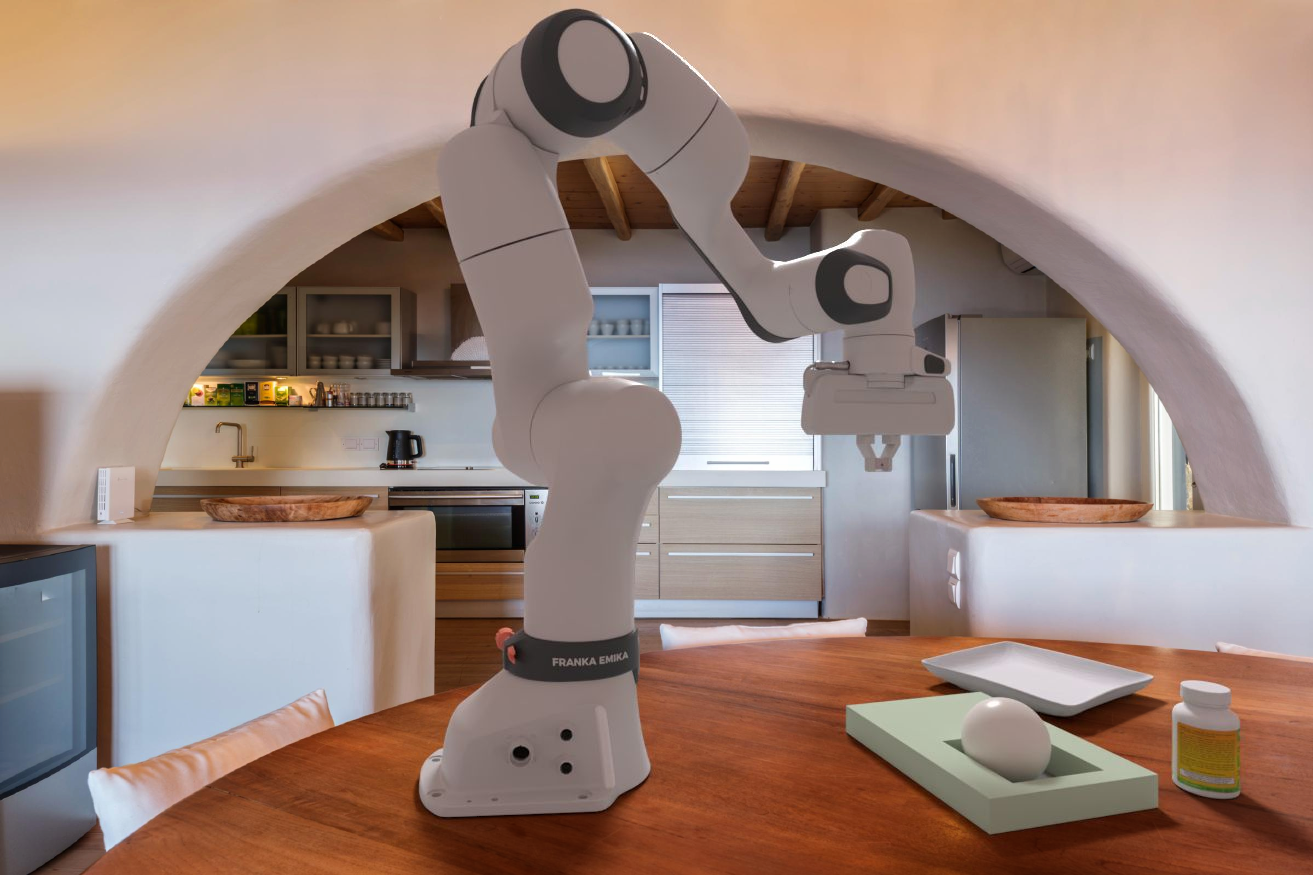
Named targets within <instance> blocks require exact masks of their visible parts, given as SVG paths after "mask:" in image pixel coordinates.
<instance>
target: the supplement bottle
mask: <svg viewBox="0 0 1313 875" xmlns="http://www.w3.org/2000/svg"><path fill="white" fill-rule="evenodd" d="M1179 689H1180V690H1179V695H1180V698H1181V700H1182V702H1178V703H1177V704H1175V705H1174V706H1173V708H1172V710H1171V711H1172V712H1171V778H1172V782H1173V783H1174V784H1175V785H1176V786H1178V788H1181V789H1183V790H1184V791H1187V792H1189V793H1192V794H1194V795H1198V796H1201V797H1205V798H1210V799H1217V800H1228V799H1234V798H1237V797H1239V795H1240V794H1241V721H1240V720H1241V719H1240V717H1238V715H1237V714H1236V713H1235V712H1234V711H1232V710H1231V709H1229V707H1231V706H1232V691H1231V689H1230V688H1229V687H1226V686H1225V685H1222V684H1218V683H1215V682H1210V681H1205V680H1196V679H1195V680H1190V679H1189V680H1183V681H1181V682H1180V688H1179Z"/></svg>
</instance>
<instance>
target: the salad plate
mask: <svg viewBox="0 0 1313 875" xmlns="http://www.w3.org/2000/svg"><path fill="white" fill-rule="evenodd" d="M920 662H921V664H922V666H923V667H924V668H925V670H927V671H929V672H930V673H931V674H933V675H934V676H936V677H937V678H940V679H941V680H943V681H946V682H948V683H949V684H953V685H955V686H957V687H958V688H960V689H963V690H966V691H968V692H970V693H974V692H982V693H984V694H987V695H989V696H991V697H993V698H995V697H1003V698H1010V699H1014V700H1017V701H1019V702H1021V703H1023V704H1025V705H1027V706H1028V707H1029V708H1031V709H1032V710H1033V711H1034V712H1036V713H1037V712H1038V713H1042V714H1045V715H1048V716H1049V715H1050V716H1055V717H1071V716H1075V715H1078V714H1080V713H1082V712H1084V711H1086V710H1088V709H1092V708H1094V707H1098V706H1100V705H1102V704H1104V703H1108V702H1110V701H1113V700H1115V699H1119V698H1122V697H1126V696H1129V695H1132V694H1134V693H1136V692H1139V691H1141V690H1143V689H1145V688H1146V687H1148V686H1149V685H1150V684H1151V682H1152V683H1153V681H1154V679H1155V677H1154V675H1152V674H1148V673H1145V672H1141V671H1140V672H1139V671H1136V670H1132V669H1128V668H1124V667H1120V666H1118V665H1117V666H1116V665H1113V664H1108V663H1105V662H1100V661H1097V660H1092V659H1089V658H1084V657H1081V656H1076V655H1072V654H1068V653H1064V652H1059V651H1056V650H1050V649H1047V648H1041V647H1037V646H1033V645H1027V644H1024V643H1019V642H1016V641H1009V640H1008V641H1007V640H1005V641H1004V640H1003V641H999V642H994V643H990V644H985V645H984V644H983V645H979V646H975V647H971V648H967V649H961V650H956V651H953V652H949V653H945V654H941V655H940V654H939V655H937V656H933V657H930V658H924V659H921V661H920Z"/></svg>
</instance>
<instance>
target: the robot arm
mask: <svg viewBox="0 0 1313 875" xmlns="http://www.w3.org/2000/svg"><path fill="white" fill-rule="evenodd" d="M470 113H471V114H470V123H469V124H470V125H469V127H468V128H465V129H464V130H461V131H460V132H458V133H457V134H455V135H454V136H452V138H450V139H449V140H448V141H447V142H446V143H445V144H444V146H443V147H442V149H441V150H440V152H439V154H438V156H437V160H436V175H437V182H438V188H439V194H440V198H441V199H440V200H441V204H442V210H443V213H444V218H445V221H446V227H447V230H448V233H449V237H450V241H451V244H452V247H453V250H454V252H455V256H456V259H457V262H458V263H459V268H460V271H461V275H462V276H463V279H464V281H465V284H466V288H467V290H468V293H469V296H470V300H471V302H472V304H473V307H474V308H473V309H474V310H475V313H476V316H477V319H478V322H479V325H480V327H481V331H482V333H483V339H484V342H485V344H486V345H485V346H486V350H487V353H488V359H489V365H490V371H491V373H490V374H491V380H492V381H491V382H492V387H493V388H492V389H493V394H494V396H493V397H494V404H495V416H494V417H495V418H494V420H493V423H492V427H491V443H492V448H493V451H494V454H495V455H496V457H497V459H498V461H499V462H500V463H501V465H502V467H504V468H505V469H506V470H507V471H509V472H510V473H512V474H514V476H516V477H518V478H519V479H521V480H523V481H526V483H529V484H531V485H535V486H538V487H543V488H547V489H548V492H547V496H546V502H545V506H544V511H543V513H542V518H541V522H540V524H539V527H538V530H537V532H536V535H535V536H534V538H533V539H532V540H531V541H530V542H529V544H528V545H527V547H526V550H525V553H524V555H523V627H522V628H520V629H519V630H517V631H516V632H514V631H513V629H511V628H509V627H503V628H500V629H498V632H497V633H496V634H495V643H496V646H497V647H498V649H500V650H501V651H502V666H503V668H502V670H500V671H499V672H498V673H497V674H495V675H494V676H493V677H491V679H489V680H488V681H486V682H485V683H484V684H482V685H481V687H479V688H478V689H477V690H475V691H474V692H472V694H470V695H469V696H467V697H466V698H465V699H464V700H462V701H461V702H460V703H459V704H458V705H457V707H456V708H455V709H454V711H453V713H452V715H451V718H450V720H449V722H448V725H447V728H446V733H445V736H444V741H443V747H442V748H439V749H437V750H435V751H434V752H433V753H431V754H430V755H429V756H428V757H427V758H426V760H425V761H424V762H423V764H422V766H421V769H420V772H419V773H420V774H419V783H418V794H419V798H420V801H421V802H422V804H423V806H424V807H425V808H426V809H427V810H428V811H430V812H431V813H433V814H434V815H436V816H438V817H443V818H444V817H445V818H452V817H477V816H478V817H479V816H481V817H482V816H485V817H486V816H504V815H505V816H507V815H510V816H511V815H533V814H534V815H535V814H539V815H540V814H561V813H563V814H564V813H585V812H586V813H588V812H589V813H591V812H599V811H600V812H602V811H603V810H606V809H607V808H610V806H612V804H614V802H615V801H616V799H617V798H618V797H619V796H620V795H622V794H624V793H626V792H627V791H629V790H632V789H633V788H635V787H636V786H638V785H639V784H641V783H642V782H643V781H644V780H645V779H647V777H648V776H649V774H650V771H651V762H650V759H649V756H648V752H647V748H646V744H645V740H644V736H643V732H642V724H641V719H640V712H639V711H640V710H639V704H638V692H637V684H638V683H639V674H640V671H641V670H640V669H641V668H640V666H641V662H640V660H641V657H640V656H641V655H640V654H641V647H640V646H641V644H640V637H639V628H637V627H636V626H635V594H636V592H635V587H636V585H635V583H636V582H635V580H636V559H637V550H638V543H639V538H640V534H641V530H642V526H643V522H644V519H645V515H646V512H647V510H648V507H649V505H650V502H651V499H652V497H653V495H654V493H655V491H656V489H657V488H658V487H659V485H660V484H661V483H662V481H663V480H664V479H665V478H667V476H668V475H669V474H670V473H671V471H672V470H673V469H674V467H675V466H676V463H677V461H678V460H679V455H680V453H681V449H682V440H683V431H682V424H681V419H680V417H679V413H678V412H677V409H676V407H675V405H674V404H673V402H672V401H671V400H670V399H669V397H668V396H667V395H666V394H665V393H663V391H660V389H658V388H655V387H653V386H652V385H648V384H645V383H642V382H638V381H635V380H631V379H630V380H629V379H627V378H626V379H625V378H621V377H604V378H602V377H601V378H596V379H595V378H594V379H592V377H591V374H590V370H589V363H588V360H589V359H588V349H587V348H588V346H587V341H588V332H589V328H590V324H591V322H592V321H593V317H594V313H595V304H594V302H595V301H594V299H593V295H592V292H591V290H590V286H589V283H588V280H587V278H586V274H585V270H584V268H583V264H582V261H581V259H580V258H581V257H580V255H579V252H578V249H577V246H576V243H575V239H574V237H573V236H574V235H573V234H572V230H571V229H570V228H571V227H570V224H569V222H568V219H567V217H566V213H565V210H564V209H563V206H562V203H561V200H560V198H559V190H558V184H557V183H558V182H557V172H558V171H557V169H558V164H559V162H560V161H562V160H564V159H568V158H571V157H573V156H576V155H578V154H580V153H582V151H584V150H585V149H587V148H589V146H591V145H592V144H593V143H595V141H597V140H598V139H599V138H600V139H603V140H606V141H608V142H610V143H612V144H614V145H616V146H617V147H618V148H620V149H621V150H622V151H624V152H625V154H626V155H627V156H628V158H630V160H631V161H632V162H633V163H634V164H635V165H636V166H637V168H639V169H640V171H641V172H643V174H644V175H645V176H647V177H648V179H649V180H650V181H651V182H652V183H653V185H655V187H656V188H657V189H658V190H659V192H660V193H661V194H662V195H663V197H664V198H665V200H666V201H667V203H668V208H669V212H670V215H671V217H672V219H673V221H674V223H675V225H676V227H677V228H678V229H679V231H680V232H681V234H683V236H684V238H685V239H686V240H687V241H688V243H689V244H690V246H692V248H693V249H694V251H696V253H697V254H698V255H699V256H700V257H701V260H703V261H704V262H705V264H706V265H707V266H708V268H709V269H710V271H712V272H713V274H714V275H715V276H716V277H717V279H718V280H719V281H720V283H722V285H723V286H724V287H725V288H726V290H727V292H728V293H729V294H730V295H731V297H732V299H733V300H734V302H735V304H736V306H737V308H738V310H739V312H740V315H741V316H742V319H743V320H744V322H745V324H746V325H747V327H748V328H749V329H750V330H751V332H752V333H753V334H754V335H755V336H757V337H758V338H759V339H761V340H763V341H764V342H768V343H771V344H782V343H786V342H789V341H793V340H796V339H799V338H802V337H808V336H814V335H819V334H826V333H828V332H836V331H841V330H843V333H842V335H843V336H842V360H839V361H838V360H834V361H826V360H815V361H814V362H813V363H811V364H809V365H808V366H807V367H806V368H805V369H804V372H803V375H802V388H803V391H804V392H803V397H802V398H803V399H802V405H801V416H800V417H801V418H800V427H801V429H802V430H803V432H804V434H806V435H807V436H855V437H856V438H855V439H856V440H855V442H856V443H855V445H856V446H857V448H858V450H859V451H860V454H861V456H862V457H863V458H864V471H865V472H866V473H881V472H882V473H890V472H892V471H893V458H894V457H895V455H896V454H897V452H898V449H899V448H900V446H901V442H902V441H901V438H902V437H901V436H949V435H950V434H951V432H952V431H953V430H954V428H955V424H956V407H955V406H956V405H955V402H956V401H955V393H954V389H953V386H952V382H950V380H948V378H945V377H948V376H950V374H951V373H952V362H951V361H950V360H949V359H948V358H945V357H944V356H941V355H939V354H935V353H933V352H931V351H929V350H926V349H924V348H922V347H919V346H917V345H916V333H915V330H914V326H913V314H914V313H913V312H914V308H915V305H916V278H915V277H916V276H915V265H914V259H913V254H912V250H911V247H910V244H909V242H908V240H907V238H906V236H905V237H904V235H902V234H900V233H898V232H895V231H893V230H889V229H879V228H878V229H876V228H870V229H863V230H859V231H856V232H855V233H853V234H852V235H851V236H850V237H849V239H848V240H847V241H845V242H843V243H840V244H839V245H837V246H834V247H830V248H828V249H825V250H821V251H819V252H813V253H811V254H808V255H806V256H803V257H799V258H795V259H792V260H788V261H777V260H773V259H770V258H768V257H766V256H764V255H763V254H762V252H760V250H759V248H758V247H757V246H756V245H755V243H754V242H753V241H752V240H751V238H750V237H749V235H748V234H747V233H746V232H745V229H744V228H742V226H741V224H740V223H739V222H738V221H737V219H736V218H735V216H734V214H733V212H732V209H731V201H733V199H734V198H735V195H737V193H738V191H739V190H740V188H741V186H742V185H743V183H744V180H745V178H746V176H747V173H748V171H749V167H750V163H751V162H750V161H751V160H750V159H751V141H750V136H749V134H748V132H747V130H746V128H745V126H744V125H743V123H742V121H741V119H740V118H739V116H738V115H737V114H736V113H735V111H734V110H733V109H732V108H731V107H730V106H729V105H728V103H727V102H726V100H724V99H723V97H722V96H721V95H719V93H718V92H717V91H716V90H715V89H714V88H713V87H712V85H710V83H709V82H708V81H707V80H706V79H705V78H704V77H703V76H702V75H701V74H700V73H699V72H698V71H697V70H696V69H695V68H694V67H693V66H691V64H689V63H688V62H687V61H686V60H685V59H683V57H682V56H680V55H679V54H678V53H676V52H675V51H674V50H673V49H672V48H671V47H669V46H668V45H667V44H665V43H664V42H662V41H661V40H659V39H658V38H657V37H655V36H654V35H652V34H650V33H647V32H644V31H634V32H630V33H627V32H624V31H623V30H622V29H621V28H620V27H619V26H618V25H616V24H615V23H614V22H612V21H611V20H609V19H608V18H606V17H605V16H602V14H599V13H596V12H594V11H592V10H591V11H590V10H587V9H584V8H568V9H563V10H561V11H557V12H555V13H553V14H551V15H548V16H547V17H545V18H543V19H542V20H540V21H539V22H537V23H536V24H535V25H534V26H533V27H532V28H531V30H530V31H529V32H528V34H526V35H525V36H523V37H522V38H521V39H520V40H519V41H518V42H516V43H515V44H513V45H511V46H510V47H509V48H508V49H507V50H506V51H505V52H504V53H503V54H501V56H500V57H499V59H498V60H497V61H496V63H495V65H494V66H493V68H491V70H490V72H489V73H488V75H486V76H485V78H483V79H482V81H481V82H480V84H479V86H477V90H476V92H475V95H474V98H473V103H472V106H471V112H470ZM812 368H813V369H812ZM876 436H881V444H882V445H885V446H884V447H883V450H882V452H881V454H880V457H878V456H877V455H876V453H875V451H874V449H873V446H872V445H875V442H876V439H875V438H876Z"/></svg>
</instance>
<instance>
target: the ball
mask: <svg viewBox="0 0 1313 875" xmlns="http://www.w3.org/2000/svg"><path fill="white" fill-rule="evenodd" d="M1043 721H1044V720H1043V719H1042V718H1041V717H1040V715H1038V713H1037V712H1036V711H1034V710H1032V709H1031V708H1029V707H1028V706H1027V705H1025V704H1023V703H1021V702H1019V701H1017V700H1014V699H1010V698H1003V697H995V698H990V699H986V700H983V701H981V702H979V703H978V704H976V705H975V706H974V707H973V708H972V709H971V710H970V711H969V712H968V713H967V715H966V717H965V719H964V721H963V724H962V728H961V742H962V747H963V750H964V753H965V755H966V756H968V757H970V758H971V759H973V760H975V761H976V762H978V763H980V764H981V765H983V766H985V767H986V768H988V769H990V770H991V771H993V772H995V773H996V774H998V775H1000V776H1001V777H1003V778H1005V779H1006V780H1008V781H1010V782H1012V783H1018V782H1025V781H1032V780H1035V779H1037V778H1038V777H1039V776H1040V775H1041V774H1042V773H1043V772H1044V770H1045V769H1046V767H1047V765H1048V763H1049V760H1050V756H1051V740H1050V735H1049V733H1048V730H1047V728H1046V726H1045V724H1044V722H1043Z"/></svg>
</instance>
